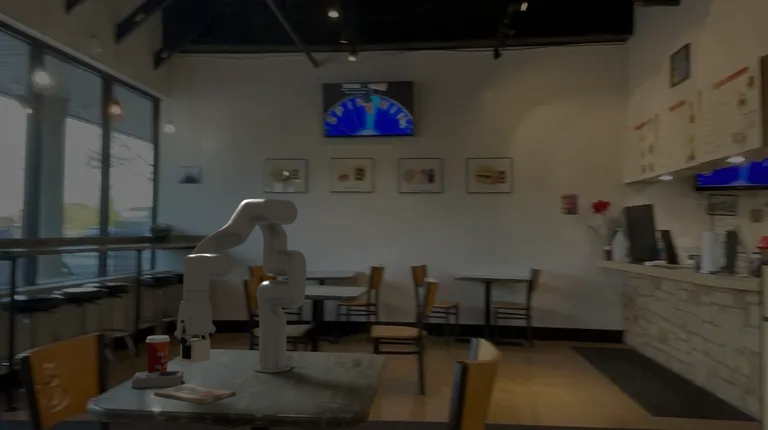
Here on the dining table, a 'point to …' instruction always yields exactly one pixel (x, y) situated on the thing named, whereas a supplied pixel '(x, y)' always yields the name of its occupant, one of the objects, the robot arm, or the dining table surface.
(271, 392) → the dining table surface
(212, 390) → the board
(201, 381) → the dining table surface
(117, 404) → the dining table surface
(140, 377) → the handheld gaming device
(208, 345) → the cream cube
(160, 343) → the paper cup
